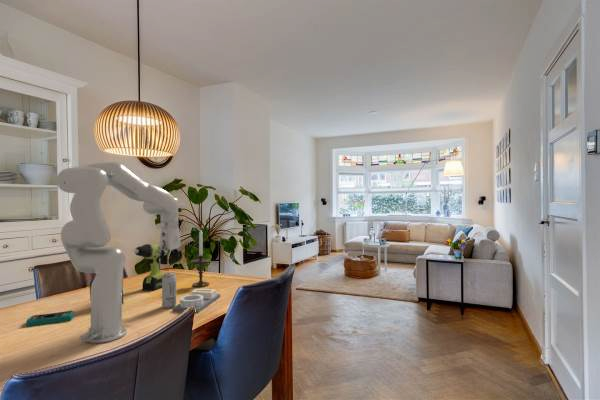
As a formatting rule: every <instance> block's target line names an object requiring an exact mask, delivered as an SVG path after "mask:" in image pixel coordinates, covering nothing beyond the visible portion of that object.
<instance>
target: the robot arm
mask: <svg viewBox="0 0 600 400" xmlns="http://www.w3.org/2000/svg"><path fill="white" fill-rule="evenodd" d="M55 181H56V184H57V187H58V189H60V191H62V192H65V193H69V194H73V197H72V199H71V201H70V205H69V212H70V215H71V218H72V220H70V221H67V222H66V223H65V224H64V225H63V226H62V228H61V231H60V240H61V244H62V246H63V248H64V250H65V253H66V254H67V256H68V258H69V260H70V262H71V263H72V266H73V267H74V269H76V270H77V271H79V272H81V273H85V274H87V273H88V274H89V273H90V274H95V276H94V278H93V279H94V280H93V279H92V280H93V282H92V285H91V300H90V326H89V327H88V331H87V332H86V333H83V334H81V335H80V336H79V340H80V341H81V342H84V341H86V342H87V343H89V344H90V343H92V344H100V343H107V342H112V341H115V340H118V339H120V338H122V337H124V336H125V335H126V334H127V330H128V329H127V328H126V327H125V326H123V323H122V322H123V321H122V319H123V317H122V316H123V313H122V312H123V309H122V308H123V307H122V306H123V304H122V274H123V275H124V273H123V271H124V268H125V264H126V256H125V253H124V252H123V251H122V249H120V248H118V247H115V246H106V245H107V244H109V242H110V241H111V231H110V228H109V225H108V224H107V221H106V218H105V216H104V214H103V211H102V208H101V207H102V206H101V199H102V196H103V193H104V191H105V190H106V188H107V186H109V187H110V186H111V187H113V188H114V189H116V190H117V191H118V192H120V193H121V194H123V195H124V196H126V198H129V199H131V200H133V201H136V202H142V208H143V210H144V212H145V213H146V214H149V215H160V234H159V235H160V236H159V244H158V245H159V246H158V250H159V253H160V254H159V255H160V258H159V262H160V265H168V262H169V261H168V258H169V257H168V252H169V251H171V259H172V261H178V260H180V249H181V248H180V247H181V243H182V241H181V234H180V228H179V227H180V226H179V200H178V198H177V197H174V195H172V194H171V193H170V192H169V191H167V190H165V189H163V188H161V187H159V186H156V185H153V184H152V183H149V182H146V181H144V180H142V179H141V178H140V177H139V176H138V175H137V174H135V173H133V172H132V171H131V170H130V169H129V168H127V167H126V166H125V165H124V164H122V163H119V162H114V161H113V162H109V161H108V162H96V163H95V162H94V163H91V164H86V165H80V166H73V167H67V168H64V169H62V170H60V171H59V173H58V174H57V175H56V179H55ZM164 251H165V252H164Z"/></svg>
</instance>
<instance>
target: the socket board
mask: <svg viewBox="0 0 600 400" xmlns="http://www.w3.org/2000/svg"><path fill="white" fill-rule="evenodd" d="M220 298H221V293H217V289H208V288H195V289H193V290H191V291H190V294H188V295H187V294H186V295H184V296H181V297H180V298H179V304H176V305H175V307H173V308H171V309H172V312H175V313H176V312H178V313H184V312H183V311H184V310H186V309H187V308H188V307H191V306H194V307H195V309H196V313H195V314H198V313H200V312H202V311H203V310H204V309H206V308H207V307H209V306H210V305H211V304H212V303H214V302H215V301H217V300H218V299H220Z"/></svg>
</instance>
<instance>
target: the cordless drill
mask: <svg viewBox="0 0 600 400" xmlns="http://www.w3.org/2000/svg"><path fill="white" fill-rule="evenodd" d="M159 245H160V244H154V243H153V244H152V243H151V244H149V243H146V244H143V245H141V246H137V247H136V248H135V250H134V251H133V252H134V253H135V256H138V257H142V258H144V259H146V260H147V264H149V265H150V273H149V274H148V275H146V276H145V277H144V278H143V281H142V291H144V292H145V291H146V292H147V291H148V292H155V291H157V290H160V289H162V277H163V276H164V272H162V271H161V264H160V255H159V254H160V253H159V250H158V246H159ZM164 252H165V251H164Z"/></svg>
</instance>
